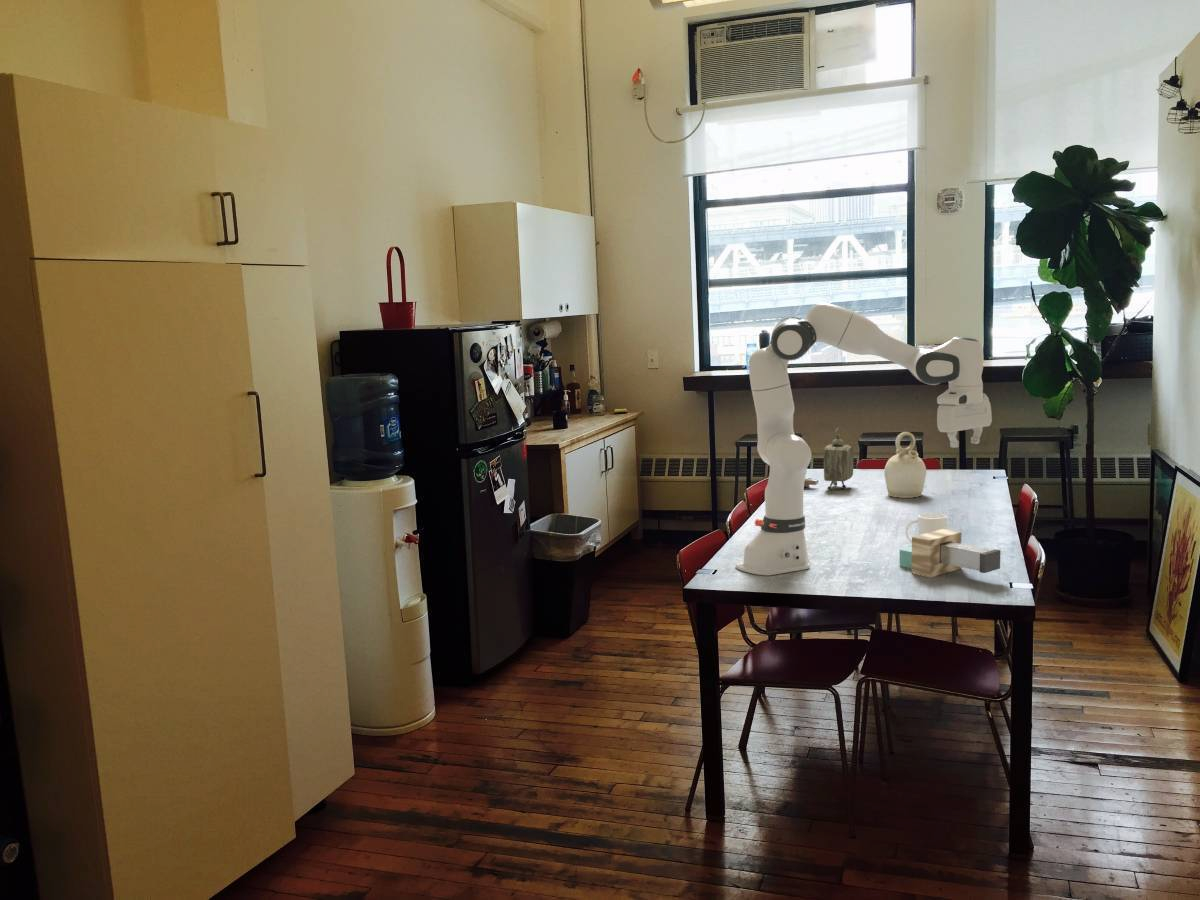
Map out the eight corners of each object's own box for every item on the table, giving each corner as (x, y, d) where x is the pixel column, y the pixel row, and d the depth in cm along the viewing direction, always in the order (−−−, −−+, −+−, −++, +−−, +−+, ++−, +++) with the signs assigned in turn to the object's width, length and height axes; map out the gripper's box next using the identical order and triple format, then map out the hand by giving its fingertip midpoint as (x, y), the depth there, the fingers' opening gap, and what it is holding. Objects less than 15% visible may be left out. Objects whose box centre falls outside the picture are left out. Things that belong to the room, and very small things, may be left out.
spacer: (917, 553, 279) (899, 549, 284) (917, 570, 280) (899, 566, 285) (930, 549, 283) (912, 546, 288) (930, 566, 284) (912, 562, 288)
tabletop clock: (832, 485, 414) (831, 425, 410) (854, 485, 410) (853, 425, 406) (823, 491, 401) (823, 429, 397) (846, 492, 397) (846, 430, 393)
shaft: (984, 573, 261) (984, 554, 261) (919, 559, 278) (919, 541, 277) (1000, 568, 265) (1000, 550, 265) (934, 554, 282) (935, 537, 281)
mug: (903, 556, 295) (904, 517, 293) (908, 550, 302) (908, 511, 301) (945, 559, 290) (946, 519, 288) (948, 552, 297) (949, 513, 296)
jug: (929, 499, 377) (929, 433, 374) (887, 499, 380) (887, 434, 376) (922, 491, 392) (923, 428, 389) (882, 492, 395) (882, 429, 391)
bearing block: (929, 577, 272) (930, 540, 270) (911, 573, 277) (911, 536, 275) (961, 568, 280) (961, 532, 278) (942, 564, 284) (943, 528, 283)
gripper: (978, 392, 282) (977, 440, 284) (933, 398, 270) (932, 448, 272) (998, 393, 277) (997, 442, 279) (953, 399, 265) (952, 450, 267)
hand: (964, 445), depth 275 cm, fingers open, 8 cm apart
